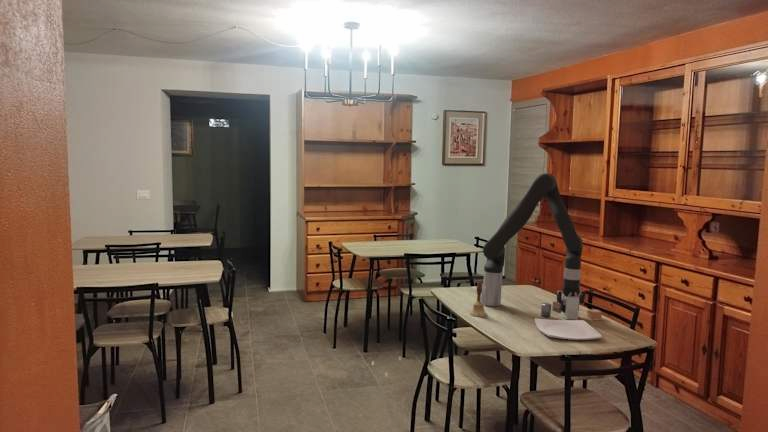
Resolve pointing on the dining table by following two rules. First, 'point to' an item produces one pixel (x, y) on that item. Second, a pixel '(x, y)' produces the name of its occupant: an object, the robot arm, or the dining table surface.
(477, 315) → the hand bell
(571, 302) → the small box
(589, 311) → the terracotta block
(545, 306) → the slate grey cylinder
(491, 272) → the robot arm
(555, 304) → the walnut block
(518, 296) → the dining table surface
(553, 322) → the plate
